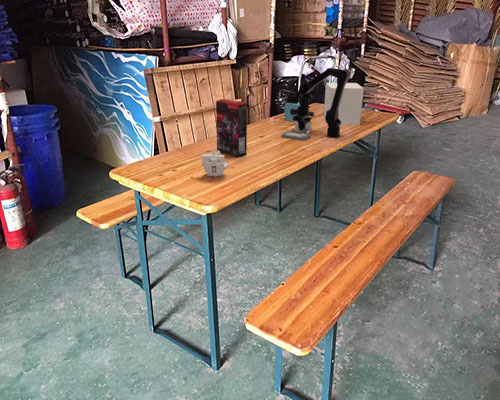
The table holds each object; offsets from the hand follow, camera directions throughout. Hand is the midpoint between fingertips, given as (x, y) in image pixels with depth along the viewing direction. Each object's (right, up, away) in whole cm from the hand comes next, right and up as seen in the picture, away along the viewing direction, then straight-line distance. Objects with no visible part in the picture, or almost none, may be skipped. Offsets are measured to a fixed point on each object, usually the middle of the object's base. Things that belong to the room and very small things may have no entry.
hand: (303, 129), depth 275 cm
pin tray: (-6, -6, -11) cm, 14 cm away
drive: (0, -1, +1) cm, 2 cm away
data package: (-3, +11, +31) cm, 33 cm away
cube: (+31, +11, +32) cm, 46 cm away
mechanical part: (-49, -33, -76) cm, 96 cm away
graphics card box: (-43, -19, -42) cm, 63 cm away
